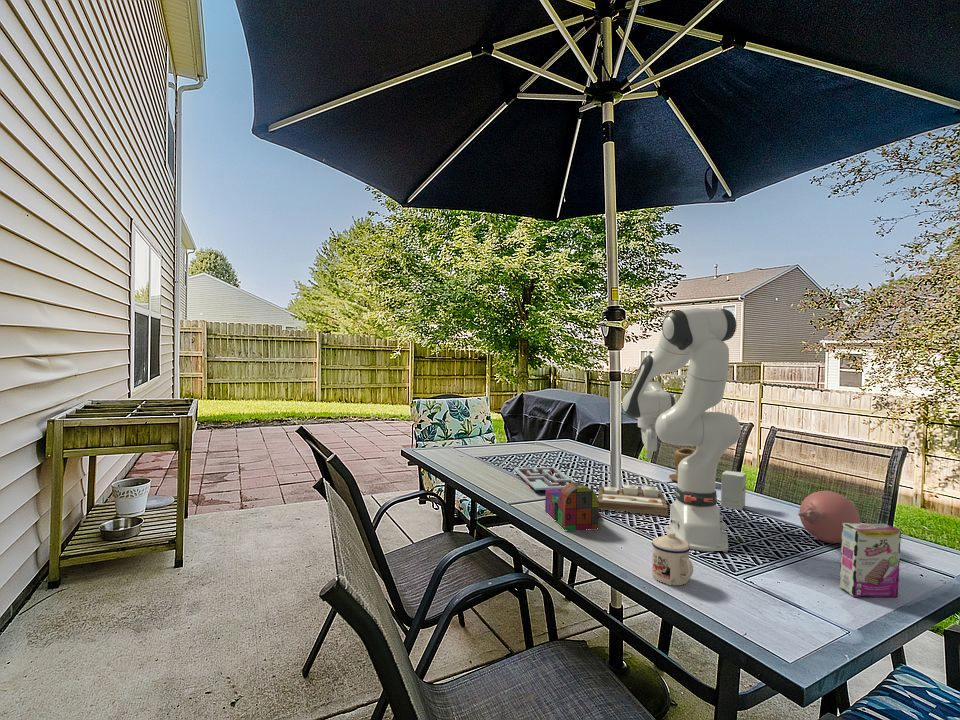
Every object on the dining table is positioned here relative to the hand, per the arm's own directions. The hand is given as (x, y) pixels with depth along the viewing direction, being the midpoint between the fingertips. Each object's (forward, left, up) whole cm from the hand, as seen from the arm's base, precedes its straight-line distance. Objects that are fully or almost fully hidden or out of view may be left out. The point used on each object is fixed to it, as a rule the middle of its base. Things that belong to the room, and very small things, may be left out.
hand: (649, 458), depth 193 cm
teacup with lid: (-69, -1, -17) cm, 71 cm away
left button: (0, +14, -16) cm, 21 cm away
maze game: (+17, +42, -17) cm, 48 cm away
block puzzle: (-26, +26, -17) cm, 41 cm away
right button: (0, -1, -14) cm, 14 cm away
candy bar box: (-63, -46, -17) cm, 80 cm away
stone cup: (+39, -20, -17) cm, 47 cm away
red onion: (-28, -49, -17) cm, 59 cm away
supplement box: (+4, -31, -17) cm, 36 cm away
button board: (-5, +7, -17) cm, 19 cm away
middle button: (0, +7, -14) cm, 16 cm away
